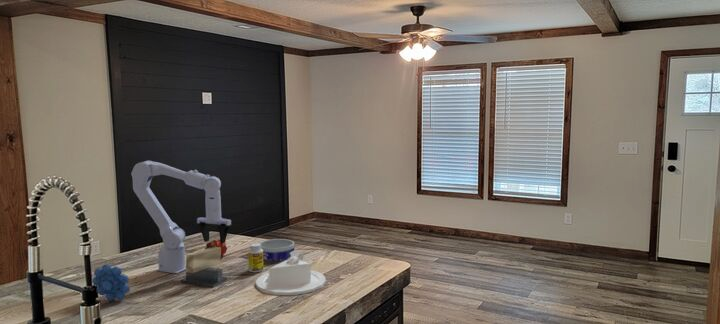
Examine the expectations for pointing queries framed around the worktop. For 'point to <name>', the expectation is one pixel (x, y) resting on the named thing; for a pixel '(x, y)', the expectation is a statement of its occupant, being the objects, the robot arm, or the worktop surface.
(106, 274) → the grapes
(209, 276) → the balance ridge
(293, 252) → the dish
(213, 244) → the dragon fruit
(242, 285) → the worktop surface
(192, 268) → the maple bar
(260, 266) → the supplement bottle
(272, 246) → the dog bowl
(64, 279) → the worktop surface
